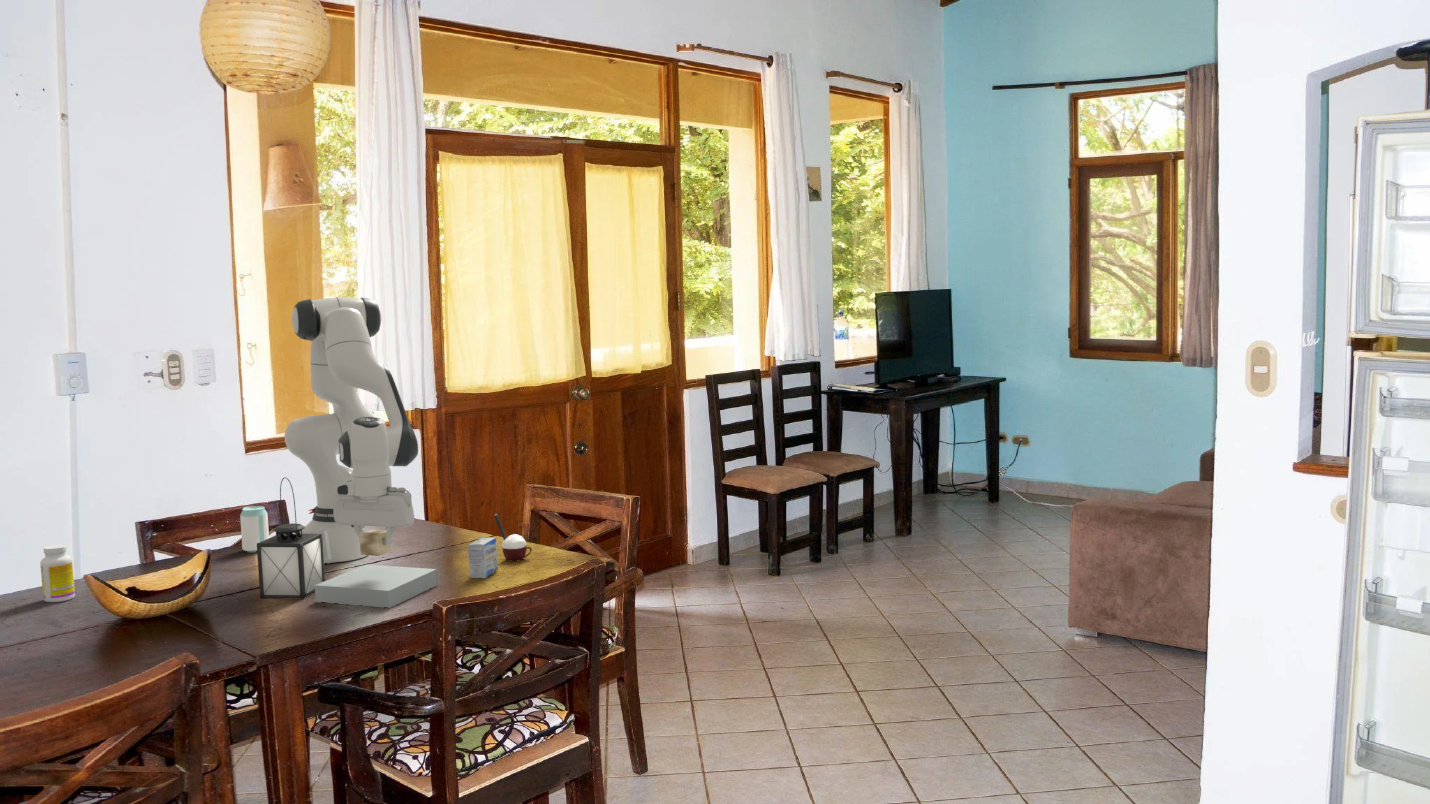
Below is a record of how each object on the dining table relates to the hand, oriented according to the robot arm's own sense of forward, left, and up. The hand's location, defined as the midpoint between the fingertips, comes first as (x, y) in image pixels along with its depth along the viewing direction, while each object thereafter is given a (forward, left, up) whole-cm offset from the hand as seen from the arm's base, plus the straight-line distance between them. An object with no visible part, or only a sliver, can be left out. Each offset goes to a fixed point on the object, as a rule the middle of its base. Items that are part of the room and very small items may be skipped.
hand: (375, 544), depth 273 cm
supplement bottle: (-73, -23, -12) cm, 78 cm away
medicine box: (+16, +22, -12) cm, 30 cm away
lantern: (-21, -4, -12) cm, 25 cm away
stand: (0, 0, -12) cm, 12 cm away
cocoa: (+16, +38, -12) cm, 43 cm away
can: (-61, +31, -12) cm, 70 cm away
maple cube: (0, 0, -2) cm, 2 cm away
